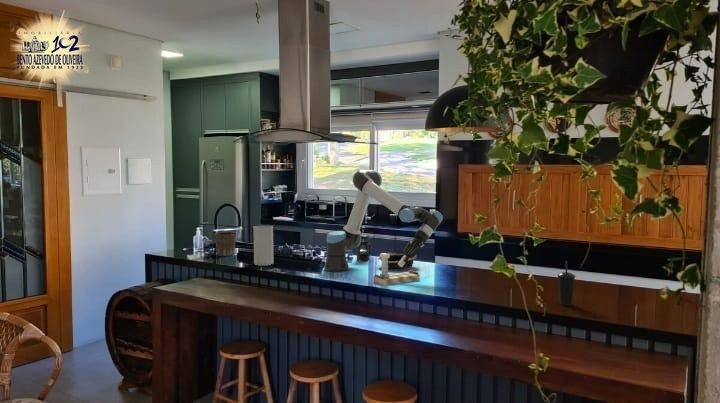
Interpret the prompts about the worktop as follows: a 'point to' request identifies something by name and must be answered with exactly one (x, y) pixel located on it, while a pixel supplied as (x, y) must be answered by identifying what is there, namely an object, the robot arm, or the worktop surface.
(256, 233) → the cylinder vase
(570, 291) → the drinking cup
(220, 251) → the plant pot
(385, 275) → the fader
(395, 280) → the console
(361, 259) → the french press
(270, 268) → the worktop surface
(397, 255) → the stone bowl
